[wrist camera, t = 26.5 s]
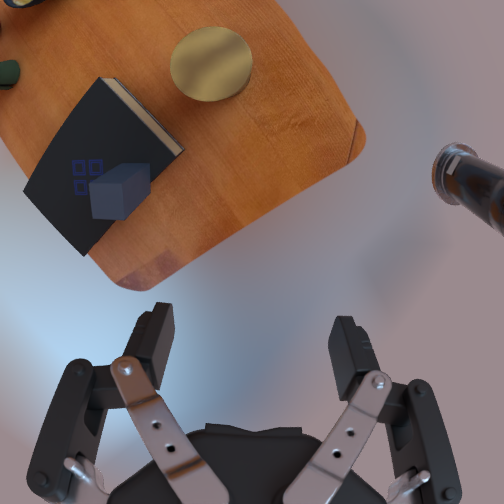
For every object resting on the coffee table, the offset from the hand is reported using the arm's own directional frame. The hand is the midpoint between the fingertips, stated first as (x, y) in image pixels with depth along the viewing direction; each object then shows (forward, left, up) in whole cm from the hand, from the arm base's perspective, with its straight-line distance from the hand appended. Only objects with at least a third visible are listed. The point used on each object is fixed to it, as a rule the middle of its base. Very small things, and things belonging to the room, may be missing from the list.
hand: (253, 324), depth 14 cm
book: (+22, +14, -36) cm, 45 cm away
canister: (+12, -9, -36) cm, 39 cm away
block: (+14, +10, -29) cm, 34 cm away
